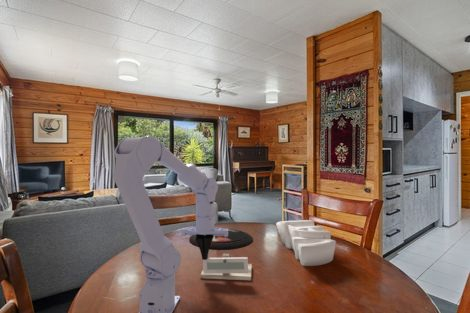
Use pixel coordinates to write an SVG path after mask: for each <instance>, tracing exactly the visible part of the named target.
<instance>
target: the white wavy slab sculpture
mask: <svg viewBox="0 0 470 313" xmlns="http://www.w3.org/2000/svg"><path fill="white" fill-rule="evenodd" d="M275 225H276V227H277V231H278V234H279V237H280V240H281V243H282V244H284V246H285V247H286V248H287V249H292V250H293V253H294V256H295V260H299V264H300V265H302V267H314V266H315V267H316V266H321V265H326V264H330V263H331V262H332V261H333V260H334V255H335V249H336V244H337V240H335V239H331V236H332V233H331V232H330V231H329V230H324V227H323V226H321V225H315V222H314V220H311V219H306V220H305V219H303V220H302V219H301V220H300V219H299V220H281V221H277V222H276V223H275Z"/></svg>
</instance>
